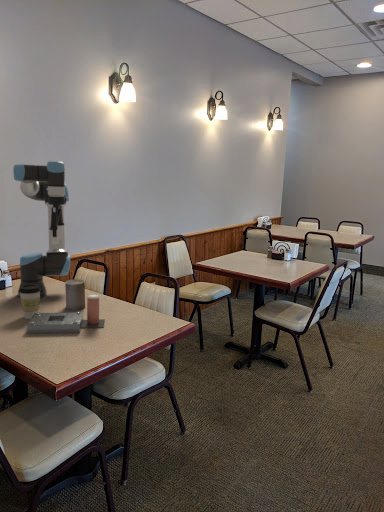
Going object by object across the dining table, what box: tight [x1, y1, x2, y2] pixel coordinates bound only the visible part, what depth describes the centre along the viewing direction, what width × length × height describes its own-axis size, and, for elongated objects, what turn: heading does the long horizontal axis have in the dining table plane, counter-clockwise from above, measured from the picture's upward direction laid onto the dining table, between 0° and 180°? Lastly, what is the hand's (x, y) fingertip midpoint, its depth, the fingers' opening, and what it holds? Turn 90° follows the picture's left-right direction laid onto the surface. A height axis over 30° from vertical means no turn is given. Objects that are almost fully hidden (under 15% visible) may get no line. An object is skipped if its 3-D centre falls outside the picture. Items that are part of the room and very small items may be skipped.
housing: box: [26, 311, 84, 335], centre depth 185 cm, size 15×22×5 cm
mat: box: [81, 318, 105, 329], centre depth 191 cm, size 10×10×1 cm
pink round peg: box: [86, 294, 100, 325], centre depth 189 cm, size 5×5×13 cm
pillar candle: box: [64, 278, 86, 311], centre depth 212 cm, size 10×10×15 cm
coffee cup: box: [18, 284, 41, 320], centre depth 195 cm, size 10×10×15 cm
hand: (57, 241), depth 192 cm, fingers open, 13 cm apart
